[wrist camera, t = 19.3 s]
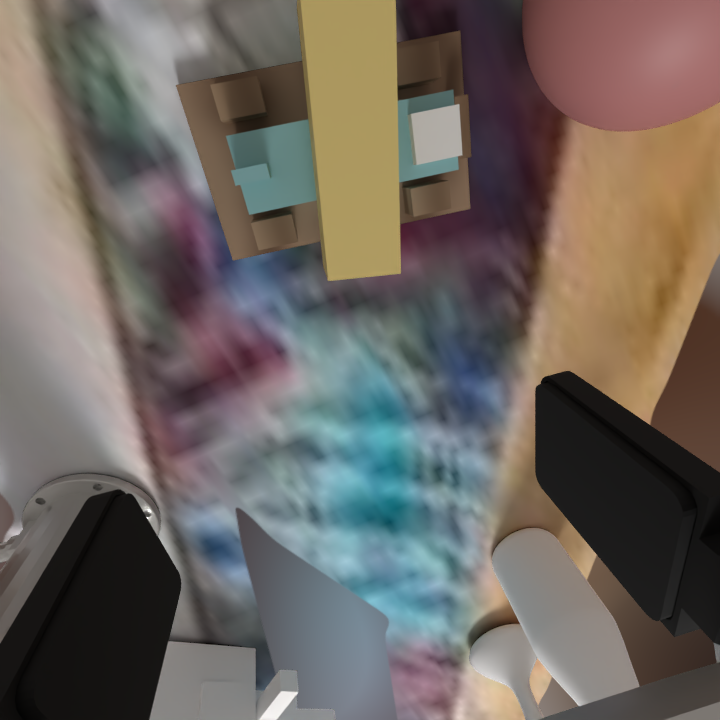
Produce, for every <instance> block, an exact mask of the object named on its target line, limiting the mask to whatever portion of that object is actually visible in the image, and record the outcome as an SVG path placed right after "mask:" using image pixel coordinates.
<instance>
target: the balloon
mask: <svg viewBox="0 0 720 720" xmlns="http://www.w3.org/2000/svg"><path fill="white" fill-rule="evenodd" d="M522 31H523V41H524V47H525V52H526V56H527V60H528V64H529V67H530V69H531V72H532V74H533V76H534V78H535V80H536V82H537V84H538V86H539V88H540V89H541V91H542V92H543V93H544V95H545V96H546V97H547V99H548V100H549V101H550V102H551V103H552V104H553V105H554V106H555V107H556V108H557V109H559V110H560V111H561V112H562V113H564V114H565V115H567V116H568V117H570V118H572V119H573V120H575V121H577V122H580V123H582V124H585V125H588V126H591V127H594V128H598V129H603V130H609V131H639V130H646V129H652V128H657V127H661V126H665V125H668V124H672V123H675V122H677V121H680V120H683V119H686V118H688V117H691V116H693V115H695V114H697V113H700V112H702V111H704V110H706V109H708V108H710V107H712V106H713V105H715V104H717V103H719V102H720V0H523V7H522Z"/></svg>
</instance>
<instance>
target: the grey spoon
mask: <svg viewBox="0 0 720 720" xmlns="http://www.w3.org/2000/svg"><path fill="white" fill-rule="evenodd" d="M536 660H537V656H536V654H535V652H534V650H533V648H532V646H531V644H530V642H529V640H528V638H527V636H526V634H525V632H524V630H523V628H522V626H521V625H520V624H508V625H503V626H500V627H497V628H494V629H492V630H490V631H488V632H486V633H485V634H483V635H482V636H481V637H479V638H478V639H477V640H476V641H475V643H474V644H473V645H472V647H471V650H470V655H469V661H470V664H471V665H472V667H473V668H474V669H475V670H476V671H477V672H478V673H480V674H481V675H483V676H485V677H487V678H489V679H492V680H494V681H497V682H499V683H502V684H504V685H506V686H508V687H509V688H510V689H511V690H512V691H513V692H514V694H515V695H516V697H517V699H518V701H519V703H520V706H521V708H522V711H523V713H524V716H525V719H526V720H538V719H541V718H545V717H544V716H543V714H542V712H541V710H540V709H539V707H538V705H537V703H536V701H535V698H534V696H533V694H532V691H531V688H530V684H529V678H530V674H531V671H532V669H533V667H534V665H535V662H536Z"/></svg>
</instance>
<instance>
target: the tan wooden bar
mask: <svg viewBox="0 0 720 720" xmlns="http://www.w3.org/2000/svg"><path fill="white" fill-rule="evenodd" d="M297 13H298V23H299V33H300V43H301V52H302V62H303V72H304V82H305V92H306V101H307V111H308V121H309V131H310V140H311V150H312V160H313V170H314V179H315V189H316V199H317V209H318V219H319V228H320V238H321V248H322V258H323V267H324V270H325V273H326V276H327V279H328V281H333V280H342V279H352V278H362V277H372V276H381V275H391V274H401V257H400V203H399V149H398V95H397V41H396V0H297Z"/></svg>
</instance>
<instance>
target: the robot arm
mask: <svg viewBox="0 0 720 720" xmlns="http://www.w3.org/2000/svg"><path fill="white" fill-rule="evenodd" d="M535 472H536V477H537V480H538V483H539V484H540V486H541V488H542V489H543V490H544V491H545V493H546V494H547V495H548V496H549V497H550V499H551V500H552V501H553V502H554V503H555V505H556V506H557V507H558V508H559V509H560V511H561V512H562V513H563V514H564V516H565V517H566V518H567V519H568V520H569V522H570V523H571V524H572V525H573V526H574V528H575V529H576V530H577V531H578V532H579V534H580V535H581V536H582V537H583V538H584V540H585V541H586V542H587V543H588V544H589V546H590V547H591V548H592V549H593V551H594V552H595V553H596V554H597V555H598V557H599V558H601V560H602V561H603V563H604V564H605V565H606V566H607V567H608V568H609V570H610V571H611V572H612V573H613V575H614V576H615V577H616V578H617V579H618V581H619V582H620V583H621V584H622V585H623V587H624V588H625V589H626V590H627V592H628V593H629V594H630V595H631V596H632V597H633V598H634V600H635V601H636V602H637V604H638V605H639V606H640V607H641V608H642V610H643V611H644V612H645V613H646V614H647V615H648V616H649V617H650V618H652V619H653V620H655V621H659V620H660V621H661V622H662V623H663V624H664V625H665V627H666V628H667V629H668V630H669V631H670V633H671V634H672V635H673V636H674V637H676V636H679V635H682V634H685V633H688V632H691V631H695V630H698V629H702V630H703V631H704V633H705V634H706V635H707V636H708V637H709V638H710V639H711V640H712V641H713V642H714V646H715V653H716V660H717V663H715V664H712V665H709V666H705V667H702V668H699V669H695V670H692V671H688V672H685V673H682V674H678V675H675V676H672V677H668V678H665V679H662V680H659V681H656V682H653V683H650V684H647V685H644V686H640V687H637V688H634V689H631V690H628V691H625V692H622V693H619V694H616V695H612V696H609V697H606V698H603V699H600V700H597V701H594V702H591V703H588V704H585V705H582V706H579V707H575V708H572V709H569V710H566V711H563V712H560V713H557V714H554V715H551V716H548V717H545V718H541V719H538V720H720V473H719V472H718V471H716V470H715V469H713V468H712V467H711V466H709V465H707V464H706V463H705V462H703V461H702V460H700V459H699V458H697V457H696V456H695V455H693V454H691V453H690V452H688V451H687V450H686V449H684V448H683V447H681V446H680V445H678V444H677V443H675V442H674V441H672V440H671V439H669V438H668V437H667V436H665V435H664V434H662V433H661V432H659V431H658V430H656V429H655V428H653V427H652V426H650V425H649V424H648V423H646V422H645V421H643V420H642V419H640V418H639V417H637V416H636V415H634V414H633V413H631V412H630V411H628V410H627V409H625V408H624V407H623V406H621V405H620V404H618V403H617V402H615V401H614V400H612V399H611V398H609V397H608V396H606V395H605V394H603V393H602V392H601V391H599V390H598V389H596V388H595V387H593V386H592V385H590V384H589V383H587V382H586V381H584V380H583V379H581V378H580V377H578V376H577V375H576V374H574V373H572V372H570V371H565V372H561V373H557V374H553V375H550V376H546V377H544V378H543V379H542V381H541V384H540V385H538V386H537V387H536V391H535ZM22 526H23V530H22V531H21V533H20V534H19V535H16V536H13V537H11V538H10V539H9V540H8V541H7V542H4V543H0V563H2V562H3V561H7V560H8V561H7V562H6V564H5V565H4V566H3V568H2V569H1V571H0V720H149V719H150V715H151V711H152V706H153V702H154V698H155V694H156V690H157V686H158V682H159V678H160V674H161V669H162V665H163V661H164V657H165V653H166V649H167V645H168V641H169V637H170V632H171V628H172V624H173V620H174V616H175V612H176V608H177V604H178V600H179V595H180V591H181V578H180V574H179V572H178V570H177V569H176V567H175V565H174V564H173V562H172V560H171V558H170V557H169V555H168V553H167V551H166V550H165V548H164V546H163V545H162V543H161V541H160V539H159V538H158V535H159V531H160V527H161V518H160V513H159V511H158V509H157V507H156V505H155V503H154V502H153V501H152V499H151V498H150V497H149V496H148V495H147V494H146V493H144V492H143V491H142V490H141V489H139V488H138V487H136V486H134V485H132V484H131V483H128V482H126V481H124V480H121V479H119V478H115V477H111V476H107V475H99V474H76V475H70V476H65V477H62V478H59V479H56V480H53V481H51V482H49V483H47V484H46V485H44V486H43V487H41V488H40V489H39V490H38V491H37V492H36V493H35V494H34V495H33V496H32V498H31V499H30V500H29V501H28V503H27V505H26V507H25V509H24V510H23V516H22Z"/></svg>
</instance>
